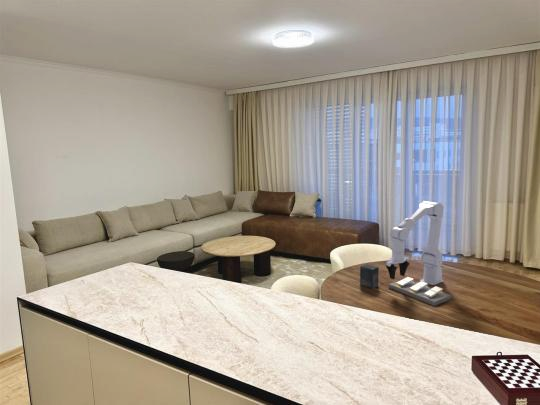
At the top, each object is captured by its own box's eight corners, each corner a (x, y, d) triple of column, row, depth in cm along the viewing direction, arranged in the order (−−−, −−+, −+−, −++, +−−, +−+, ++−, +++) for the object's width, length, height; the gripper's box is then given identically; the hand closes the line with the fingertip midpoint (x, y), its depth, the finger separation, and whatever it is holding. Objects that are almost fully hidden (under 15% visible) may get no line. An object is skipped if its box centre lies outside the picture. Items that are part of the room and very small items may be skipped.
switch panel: (405, 282, 193) (405, 278, 192) (450, 299, 171) (451, 294, 170) (388, 287, 186) (388, 283, 186) (434, 305, 164) (434, 301, 164)
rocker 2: (421, 282, 182) (421, 281, 181) (427, 284, 179) (427, 283, 178) (409, 289, 177) (409, 287, 177) (416, 291, 174) (416, 290, 174)
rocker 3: (435, 287, 175) (435, 286, 175) (442, 290, 172) (442, 288, 172) (424, 294, 171) (424, 293, 170) (431, 297, 168) (431, 295, 167)
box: (378, 286, 188) (379, 266, 187) (372, 289, 185) (372, 269, 183) (365, 282, 194) (366, 263, 193) (359, 284, 191) (359, 265, 189)
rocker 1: (408, 278, 188) (407, 276, 188) (413, 280, 185) (413, 278, 185) (396, 284, 184) (396, 282, 184) (402, 286, 181) (402, 284, 181)
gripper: (401, 246, 186) (400, 271, 188) (381, 251, 178) (381, 277, 180) (412, 250, 180) (411, 275, 182) (393, 255, 172) (392, 282, 174)
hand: (397, 277), depth 181 cm, fingers open, 7 cm apart
